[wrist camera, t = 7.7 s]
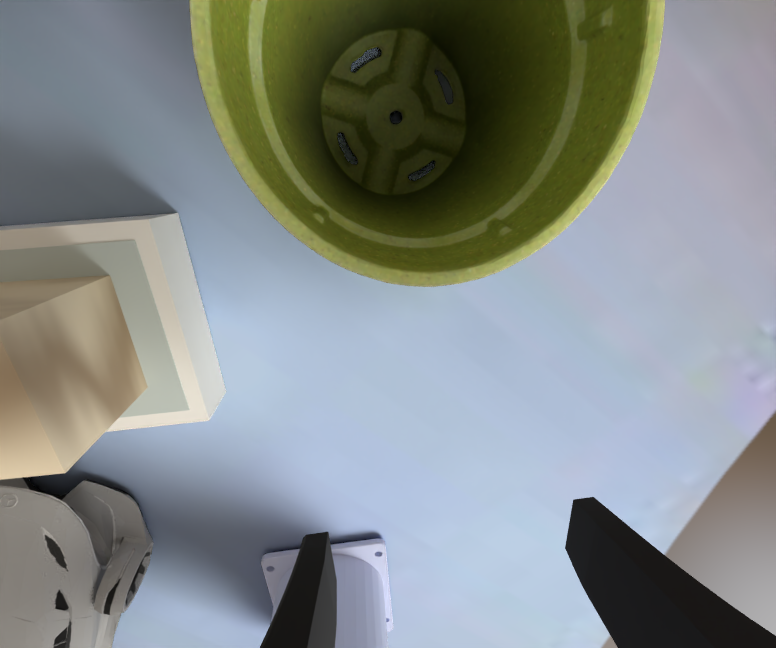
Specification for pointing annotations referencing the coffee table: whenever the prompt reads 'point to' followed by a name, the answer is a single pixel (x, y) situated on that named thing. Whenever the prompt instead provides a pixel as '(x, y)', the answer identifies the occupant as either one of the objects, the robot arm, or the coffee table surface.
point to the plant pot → (426, 121)
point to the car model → (68, 564)
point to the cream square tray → (134, 303)
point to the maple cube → (61, 371)
